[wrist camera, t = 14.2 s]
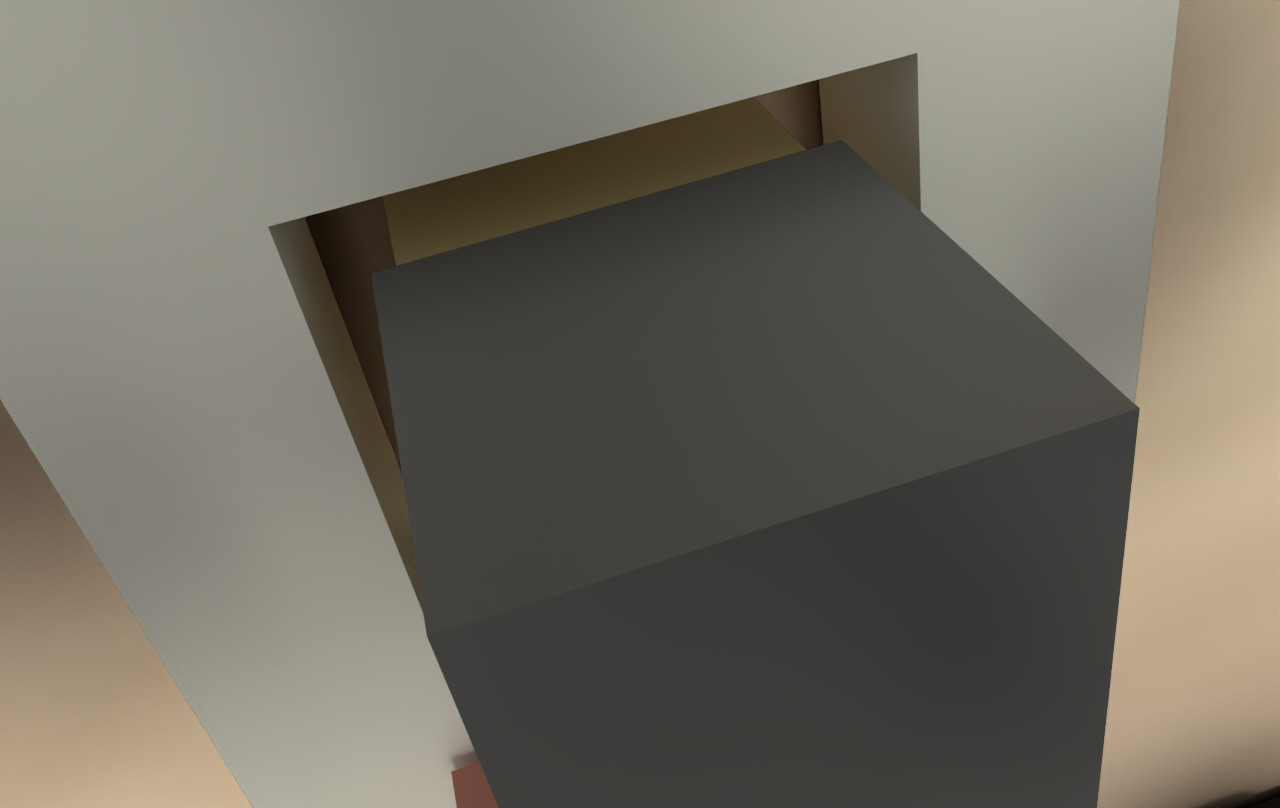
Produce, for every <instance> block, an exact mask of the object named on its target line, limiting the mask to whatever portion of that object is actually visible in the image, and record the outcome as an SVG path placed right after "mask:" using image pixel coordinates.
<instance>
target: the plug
mask: <svg viewBox="0 0 1280 808" xmlns="http://www.w3.org/2000/svg"><path fill="white" fill-rule="evenodd" d="M382 197H383V202H384V208H385V213H386V218H387V223H388V228H389V233H390V238H391V243H392V248H393V254H394V259H395V264H396V266H393V267H390V268H386V269H383V270H379V271H376V272H372V273H371V278H372V284H373V291H374V297H375V304H376V310H377V317H378V323H379V330H380V336H381V343H382V349H383V356H384V362H385V369H386V375H387V381H388V388H389V394H390V401H391V407H392V414H393V420H394V427H395V433H396V440H397V446H398V453H399V459H400V466H401V472H402V479H403V485H404V491H405V498H406V504H407V511H408V517H409V524H410V530H411V537H412V543H413V550H414V556H415V563H416V569H417V576H418V582H419V588H420V595H421V601H422V608H423V614H424V621H425V627H426V634H427V638H428V640H429V643H430V645H431V647H432V650H433V652H434V654H435V657H436V659H437V662H438V664H439V666H440V669H441V671H442V674H443V676H444V678H445V681H446V683H447V686H448V688H449V690H450V693H451V695H452V697H453V700H454V702H455V705H456V707H457V709H458V712H459V714H460V717H461V719H462V721H463V724H464V726H465V729H466V731H467V733H468V736H469V738H470V741H471V743H472V745H473V748H474V750H475V752H476V755H477V757H478V760H479V762H480V764H481V767H482V769H483V772H484V774H485V776H486V779H487V781H488V784H489V786H490V788H491V791H492V793H493V795H494V798H495V800H496V803H497V805H498V807H499V808H1097V800H1098V791H1099V782H1100V772H1101V763H1102V754H1103V744H1104V735H1105V726H1106V716H1107V707H1108V698H1109V688H1110V679H1111V669H1112V660H1113V651H1114V641H1115V632H1116V623H1117V613H1118V604H1119V595H1120V585H1121V576H1122V567H1123V557H1124V548H1125V539H1126V529H1127V520H1128V511H1129V501H1130V492H1131V482H1132V473H1133V464H1134V454H1135V445H1136V436H1137V426H1138V417H1139V407H1137V406H1136V405H1135V404H1134V403H1133V402H1132V401H1131V400H1130V399H1129V398H1127V397H1126V396H1125V395H1124V394H1123V393H1122V392H1121V391H1120V390H1119V389H1117V388H1116V387H1115V386H1114V385H1113V384H1112V383H1111V382H1110V381H1109V380H1108V379H1106V378H1105V377H1104V376H1103V375H1102V374H1101V373H1100V372H1099V371H1098V370H1096V369H1095V368H1094V367H1093V366H1092V365H1091V364H1090V363H1089V362H1088V361H1086V360H1085V359H1084V358H1083V357H1082V356H1081V355H1080V354H1079V353H1078V352H1076V351H1075V350H1074V349H1073V348H1072V347H1071V346H1070V345H1069V344H1068V343H1066V342H1065V341H1064V340H1063V339H1062V338H1061V337H1060V336H1059V335H1058V334H1056V333H1055V332H1054V331H1053V330H1052V329H1051V328H1050V327H1049V326H1048V325H1046V324H1045V323H1044V322H1043V321H1042V320H1041V319H1040V318H1039V317H1038V316H1036V315H1035V314H1034V313H1033V312H1032V311H1031V310H1030V309H1029V308H1028V307H1027V306H1025V305H1024V304H1023V303H1022V302H1021V301H1020V300H1019V299H1018V298H1017V297H1015V296H1014V295H1013V294H1012V293H1011V292H1010V291H1009V290H1008V289H1007V288H1005V287H1004V286H1003V285H1002V284H1001V283H1000V282H999V281H998V280H997V279H995V278H994V277H993V276H992V275H991V274H990V273H989V272H988V271H987V270H985V269H984V268H983V267H982V266H981V265H980V264H979V263H978V262H977V261H975V260H974V259H973V258H972V257H971V256H970V255H969V254H968V253H967V252H965V251H964V250H963V249H962V248H961V247H960V246H959V245H958V244H957V243H955V242H954V241H953V240H952V239H951V238H950V237H949V236H948V235H947V234H945V233H944V232H943V231H942V230H941V229H940V228H939V227H938V226H937V225H936V224H934V223H933V222H932V221H931V220H930V219H929V218H928V217H927V216H926V215H924V214H923V213H922V212H921V211H920V210H919V209H918V208H917V207H916V206H914V205H913V204H912V203H911V202H910V201H909V200H908V199H907V198H906V197H904V196H903V195H902V194H901V193H900V192H899V191H898V190H897V189H896V188H894V187H893V186H892V185H891V184H890V183H889V182H888V181H887V180H886V179H884V178H883V177H882V176H881V175H880V174H879V173H878V172H877V171H876V170H874V169H873V168H872V167H871V166H870V165H869V164H868V163H867V162H866V161H864V160H863V159H862V158H861V157H860V156H859V155H858V154H857V153H856V152H854V151H853V150H852V149H851V148H850V147H849V146H848V145H847V144H846V143H845V142H843V141H842V140H839V141H836V142H832V143H829V144H825V145H822V146H818V147H814V148H811V149H807V150H806V149H805V148H804V147H803V146H802V145H801V144H800V143H799V142H798V141H797V140H796V139H795V138H794V137H793V136H792V135H791V134H790V133H789V132H788V131H787V130H786V129H785V128H784V127H783V126H782V125H781V124H780V123H779V122H778V121H777V120H776V119H775V118H774V117H773V116H772V115H771V114H770V113H769V112H767V111H766V110H765V109H764V108H763V107H762V106H761V105H760V104H759V103H758V102H757V101H756V100H755V99H754V98H753V97H751V98H747V99H743V100H739V101H736V102H732V103H728V104H724V105H721V106H717V107H713V108H710V109H706V110H702V111H698V112H695V113H691V114H687V115H683V116H680V117H676V118H672V119H668V120H665V121H661V122H657V123H653V124H650V125H646V126H642V127H639V128H635V129H631V130H627V131H624V132H620V133H616V134H612V135H609V136H605V137H601V138H597V139H594V140H590V141H586V142H582V143H579V144H575V145H571V146H568V147H564V148H560V149H556V150H553V151H549V152H545V153H541V154H538V155H534V156H530V157H526V158H523V159H519V160H515V161H511V162H508V163H504V164H500V165H497V166H493V167H489V168H485V169H482V170H478V171H474V172H470V173H467V174H463V175H459V176H455V177H452V178H448V179H444V180H440V181H437V182H433V183H429V184H426V185H422V186H418V187H414V188H411V189H407V190H403V191H399V192H396V193H392V194H388V195H384V196H382Z"/></svg>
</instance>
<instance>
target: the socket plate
mask: <svg viewBox="0 0 1280 808" xmlns="http://www.w3.org/2000/svg"><path fill="white" fill-rule="evenodd" d="M1179 4H1180V0H0V400H1V402H2V403H3V405H4V406H5V408H6V410H7V411H8V413H9V414H10V416H11V418H12V419H13V421H14V423H15V424H16V426H17V427H18V429H19V431H20V432H21V434H22V435H23V437H24V439H25V440H26V442H27V444H28V445H29V447H30V448H31V450H32V452H33V453H34V455H35V456H36V458H37V460H38V461H39V463H40V465H41V466H42V468H43V469H44V471H45V473H46V474H47V476H48V477H49V479H50V481H51V482H52V484H53V485H54V487H55V489H56V490H57V492H58V494H59V495H60V497H61V498H62V500H63V502H64V503H65V505H66V506H67V508H68V510H69V511H70V513H71V515H72V516H73V518H74V519H75V521H76V523H77V524H78V526H79V527H80V529H81V531H82V532H83V534H84V536H85V537H86V539H87V540H88V542H89V544H90V545H91V547H92V548H93V550H94V552H95V553H96V555H97V557H98V558H99V560H100V561H101V563H102V565H103V566H104V568H105V569H106V571H107V573H108V574H109V576H110V578H111V579H112V581H113V582H114V584H115V586H116V587H117V589H118V590H119V592H120V594H121V595H122V597H123V599H124V600H125V602H126V603H127V605H128V607H129V608H130V610H131V611H132V613H133V615H134V616H135V618H136V620H137V621H138V623H139V624H140V626H141V628H142V629H143V631H144V632H145V634H146V636H147V637H148V639H149V641H150V642H151V644H152V645H153V647H154V649H155V650H156V652H157V653H158V655H159V657H160V658H161V660H162V661H163V663H164V665H165V666H166V668H167V670H168V671H169V673H170V674H171V676H172V678H173V679H174V681H175V682H176V684H177V686H178V687H179V689H180V691H181V692H182V694H183V695H184V697H185V699H186V700H187V702H188V703H189V705H190V707H191V708H192V710H193V712H194V713H195V715H196V716H197V718H198V720H199V721H200V723H201V724H202V726H203V728H204V729H205V731H206V733H207V734H208V736H209V737H210V739H211V741H212V742H213V744H214V745H215V747H216V749H217V750H218V752H219V754H220V755H221V757H222V758H223V760H224V762H225V763H226V765H227V766H228V768H229V770H230V771H231V773H232V775H233V776H234V778H235V779H236V781H237V783H238V784H239V786H240V787H241V789H242V791H243V792H244V794H245V796H246V797H247V799H248V800H249V802H250V804H251V805H252V807H253V808H457V806H456V800H455V793H454V787H453V781H452V774H451V771H454V770H457V769H460V768H463V767H466V766H469V765H472V764H475V763H478V762H479V760H478V757H477V755H476V752H475V750H474V748H473V745H472V743H471V741H470V738H469V736H468V733H467V731H466V729H465V726H464V724H463V721H462V719H461V717H460V714H459V712H458V709H457V707H456V705H455V702H454V700H453V697H452V695H451V693H450V690H449V688H448V686H447V683H446V681H445V678H444V676H443V674H442V671H441V669H440V666H439V664H438V662H437V659H436V657H435V654H434V652H433V650H432V647H431V645H430V643H429V640H428V638H427V634H426V627H425V621H424V614H423V608H422V601H421V595H420V588H419V582H418V576H417V569H416V563H415V556H414V550H413V543H412V537H411V530H410V524H409V517H408V511H407V504H406V498H405V491H404V485H403V479H402V473H401V471H400V468H399V465H398V463H397V460H396V457H395V455H394V452H393V449H392V447H391V444H390V442H389V439H388V436H387V434H386V431H385V428H384V426H383V423H382V420H381V418H380V415H379V412H378V410H377V407H376V405H375V402H374V399H373V397H372V394H371V391H370V389H369V386H368V383H367V381H366V378H365V375H364V373H363V370H362V368H361V365H360V362H359V360H358V357H357V354H356V352H355V349H354V346H353V344H352V341H351V339H350V336H349V333H348V331H347V328H346V325H345V323H344V320H343V317H342V315H341V312H340V309H339V307H338V304H337V302H336V299H335V296H334V294H333V291H332V288H331V286H330V283H329V280H328V278H327V275H326V273H325V270H324V267H323V265H322V262H321V259H320V257H319V254H318V251H317V249H316V246H315V243H314V241H313V238H312V236H311V233H310V230H309V228H308V225H307V222H306V220H305V217H306V216H310V215H313V214H317V213H321V212H325V211H328V210H332V209H336V208H340V207H343V206H347V205H351V204H355V203H358V202H362V201H366V200H369V199H373V198H377V197H381V196H384V195H388V194H392V193H396V192H399V191H403V190H407V189H411V188H414V187H418V186H422V185H426V184H429V183H433V182H437V181H440V180H444V179H448V178H452V177H455V176H459V175H463V174H467V173H470V172H474V171H478V170H482V169H485V168H489V167H493V166H497V165H500V164H504V163H508V162H511V161H515V160H519V159H523V158H526V157H530V156H534V155H538V154H541V153H545V152H549V151H553V150H556V149H560V148H564V147H568V146H571V145H575V144H579V143H582V142H586V141H590V140H594V139H597V138H601V137H605V136H609V135H612V134H616V133H620V132H624V131H627V130H631V129H635V128H639V127H642V126H646V125H650V124H653V123H657V122H661V121H665V120H668V119H672V118H676V117H680V116H683V115H687V114H691V113H695V112H698V111H702V110H706V109H710V108H713V107H717V106H721V105H724V104H728V103H732V102H736V101H739V100H743V99H747V98H751V97H754V96H758V95H762V94H766V93H769V92H773V91H777V90H781V89H784V88H788V87H792V86H795V85H799V84H803V83H807V82H810V81H814V80H818V79H819V91H820V105H821V118H822V131H823V144H824V145H825V144H829V143H832V142H836V141H839V140H842V141H843V142H845V143H846V144H847V145H848V146H849V147H850V148H851V149H852V150H853V151H854V152H856V153H857V154H858V155H859V156H860V157H861V158H862V159H863V160H864V161H866V162H867V163H868V164H869V165H870V166H871V167H872V168H873V169H874V170H876V171H877V172H878V173H879V174H880V175H881V176H882V177H883V178H884V179H886V180H887V181H888V182H889V183H890V184H891V185H892V186H893V187H894V188H896V189H897V190H898V191H899V192H900V193H901V194H902V195H903V196H904V197H906V198H907V199H908V200H909V201H910V202H911V203H912V204H913V205H914V206H916V207H917V208H918V209H919V210H920V211H921V212H922V213H923V214H924V215H926V216H927V217H928V218H929V219H930V220H931V221H932V222H933V223H934V224H936V225H937V226H938V227H939V228H940V229H941V230H942V231H943V232H944V233H945V234H947V235H948V236H949V237H950V238H951V239H952V240H953V241H954V242H955V243H957V244H958V245H959V246H960V247H961V248H962V249H963V250H964V251H965V252H967V253H968V254H969V255H970V256H971V257H972V258H973V259H974V260H975V261H977V262H978V263H979V264H980V265H981V266H982V267H983V268H984V269H985V270H987V271H988V272H989V273H990V274H991V275H992V276H993V277H994V278H995V279H997V280H998V281H999V282H1000V283H1001V284H1002V285H1003V286H1004V287H1005V288H1007V289H1008V290H1009V291H1010V292H1011V293H1012V294H1013V295H1014V296H1015V297H1017V298H1018V299H1019V300H1020V301H1021V302H1022V303H1023V304H1024V305H1025V306H1027V307H1028V308H1029V309H1030V310H1031V311H1032V312H1033V313H1034V314H1035V315H1036V316H1038V317H1039V318H1040V319H1041V320H1042V321H1043V322H1044V323H1045V324H1046V325H1048V326H1049V327H1050V328H1051V329H1052V330H1053V331H1054V332H1055V333H1056V334H1058V335H1059V336H1060V337H1061V338H1062V339H1063V340H1064V341H1065V342H1066V343H1068V344H1069V345H1070V346H1071V347H1072V348H1073V349H1074V350H1075V351H1076V352H1078V353H1079V354H1080V355H1081V356H1082V357H1083V358H1084V359H1085V360H1086V361H1088V362H1089V363H1090V364H1091V365H1092V366H1093V367H1094V368H1095V369H1096V370H1098V371H1099V372H1100V373H1101V374H1102V375H1103V376H1104V377H1105V378H1106V379H1108V380H1109V381H1110V382H1111V383H1112V384H1113V385H1114V386H1115V387H1116V388H1117V389H1119V390H1120V391H1121V392H1122V393H1123V394H1124V395H1125V396H1126V397H1127V398H1129V399H1130V400H1131V401H1132V402H1133V403H1134V404H1135V396H1136V387H1137V378H1138V369H1139V361H1140V352H1141V343H1142V334H1143V325H1144V316H1145V307H1146V298H1147V289H1148V280H1149V271H1150V263H1151V254H1152V245H1153V236H1154V227H1155V218H1156V209H1157V200H1158V191H1159V182H1160V173H1161V165H1162V156H1163V147H1164V138H1165V129H1166V120H1167V111H1168V102H1169V93H1170V84H1171V75H1172V67H1173V58H1174V49H1175V40H1176V31H1177V22H1178V13H1179Z"/></svg>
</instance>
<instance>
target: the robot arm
mask: <svg viewBox="0 0 1280 808" xmlns="http://www.w3.org/2000/svg"><path fill="white" fill-rule="evenodd" d="M1249 808H1280V797H1277V798H1274V799H1272V800H1269V801H1266V802H1263V803H1260V804H1258V805H1255V806H1252V807H1249Z"/></svg>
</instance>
